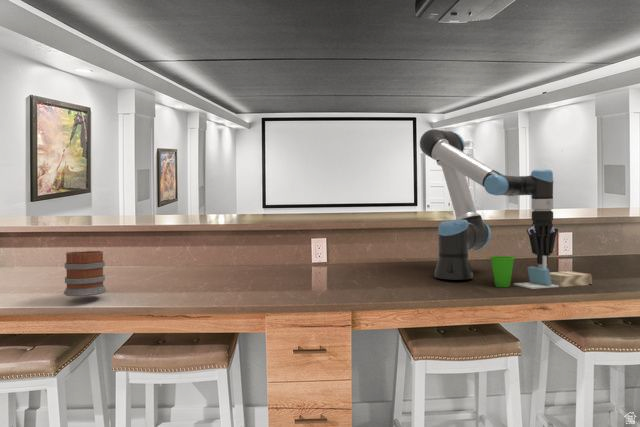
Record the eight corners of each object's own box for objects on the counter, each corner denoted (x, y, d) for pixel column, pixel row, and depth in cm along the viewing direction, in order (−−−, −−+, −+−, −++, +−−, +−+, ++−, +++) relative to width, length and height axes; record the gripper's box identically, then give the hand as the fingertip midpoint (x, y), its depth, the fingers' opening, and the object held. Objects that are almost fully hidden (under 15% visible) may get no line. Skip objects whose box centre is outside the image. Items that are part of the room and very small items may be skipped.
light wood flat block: (560, 287, 185) (560, 276, 185) (540, 283, 194) (540, 273, 194) (591, 284, 189) (591, 274, 189) (571, 281, 199) (571, 271, 199)
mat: (532, 288, 181) (532, 287, 181) (513, 284, 191) (513, 283, 191) (559, 287, 185) (559, 285, 185) (539, 283, 194) (539, 281, 194)
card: (552, 284, 184) (547, 286, 184) (534, 281, 193) (530, 282, 192) (548, 268, 184) (544, 270, 183) (531, 266, 192) (527, 267, 192)
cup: (488, 287, 185) (488, 257, 185) (491, 283, 194) (490, 255, 194) (514, 288, 182) (514, 258, 182) (515, 285, 190) (515, 256, 190)
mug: (55, 296, 172) (55, 253, 172) (81, 288, 192) (80, 249, 191) (96, 296, 173) (96, 253, 173) (117, 287, 192) (117, 248, 192)
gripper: (535, 210, 183) (535, 274, 183) (563, 210, 187) (564, 273, 187) (521, 210, 190) (521, 272, 190) (548, 210, 194) (549, 270, 194)
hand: (542, 272), depth 188 cm, fingers closed
